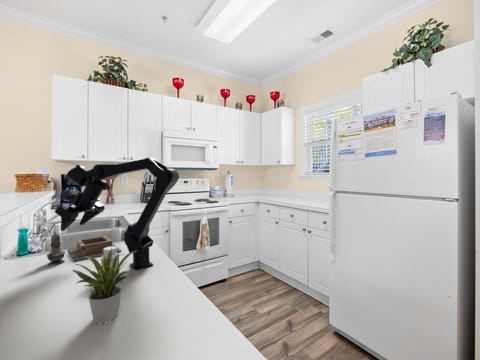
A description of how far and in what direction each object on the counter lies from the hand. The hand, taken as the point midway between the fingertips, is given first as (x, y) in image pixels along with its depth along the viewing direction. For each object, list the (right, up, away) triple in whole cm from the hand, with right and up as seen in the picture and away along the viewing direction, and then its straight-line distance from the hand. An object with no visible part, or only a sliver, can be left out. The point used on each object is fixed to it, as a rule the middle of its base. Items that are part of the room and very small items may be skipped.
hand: (71, 227), depth 93 cm
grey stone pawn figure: (-6, -14, +1) cm, 16 cm away
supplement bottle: (+21, -15, -11) cm, 28 cm away
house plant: (+32, -15, -33) cm, 49 cm away
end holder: (0, -13, +14) cm, 19 cm away
